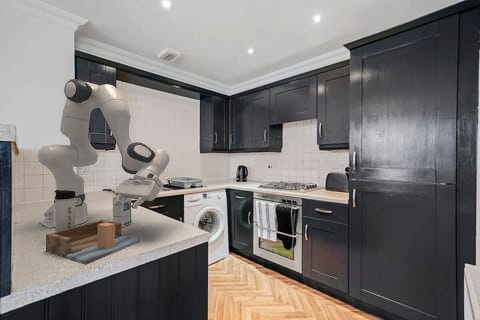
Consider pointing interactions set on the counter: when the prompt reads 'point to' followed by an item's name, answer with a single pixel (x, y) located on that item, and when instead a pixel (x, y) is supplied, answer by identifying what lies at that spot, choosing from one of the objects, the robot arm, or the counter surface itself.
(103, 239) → the terracotta block
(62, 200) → the travel mug
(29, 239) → the counter surface
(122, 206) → the syrup box
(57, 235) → the crate
